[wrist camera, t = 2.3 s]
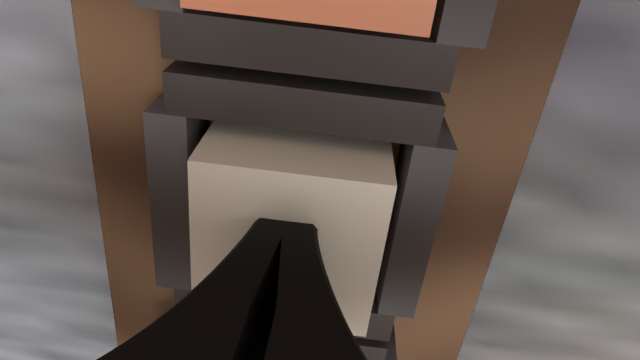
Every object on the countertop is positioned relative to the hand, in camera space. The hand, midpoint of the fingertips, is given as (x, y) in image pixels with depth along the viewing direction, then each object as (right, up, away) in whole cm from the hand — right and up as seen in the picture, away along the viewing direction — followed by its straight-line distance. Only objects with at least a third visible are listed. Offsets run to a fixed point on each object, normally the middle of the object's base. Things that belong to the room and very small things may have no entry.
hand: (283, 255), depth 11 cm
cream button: (0, +1, +2) cm, 2 cm away
